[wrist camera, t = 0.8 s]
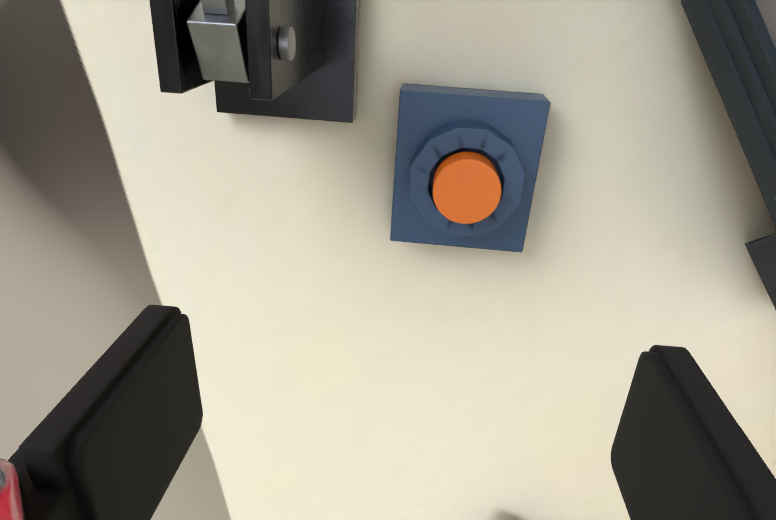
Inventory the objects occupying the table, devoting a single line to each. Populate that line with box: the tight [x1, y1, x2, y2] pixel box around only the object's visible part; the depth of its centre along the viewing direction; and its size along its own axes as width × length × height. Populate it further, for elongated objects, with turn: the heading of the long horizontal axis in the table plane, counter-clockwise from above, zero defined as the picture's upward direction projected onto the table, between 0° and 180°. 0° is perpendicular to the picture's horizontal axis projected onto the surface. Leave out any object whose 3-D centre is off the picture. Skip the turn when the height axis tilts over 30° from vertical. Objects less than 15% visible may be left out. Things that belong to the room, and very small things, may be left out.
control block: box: [390, 84, 550, 252], centre depth 35 cm, size 10×9×4 cm
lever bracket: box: [150, 0, 359, 123], centre depth 29 cm, size 11×9×13 cm
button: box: [433, 151, 501, 224], centre depth 33 cm, size 4×4×2 cm
